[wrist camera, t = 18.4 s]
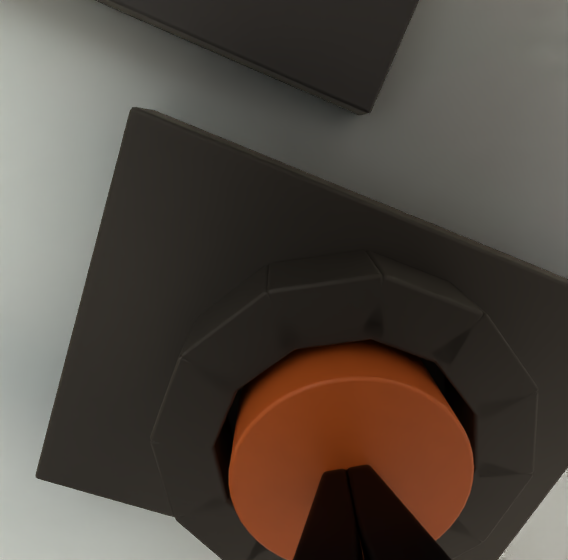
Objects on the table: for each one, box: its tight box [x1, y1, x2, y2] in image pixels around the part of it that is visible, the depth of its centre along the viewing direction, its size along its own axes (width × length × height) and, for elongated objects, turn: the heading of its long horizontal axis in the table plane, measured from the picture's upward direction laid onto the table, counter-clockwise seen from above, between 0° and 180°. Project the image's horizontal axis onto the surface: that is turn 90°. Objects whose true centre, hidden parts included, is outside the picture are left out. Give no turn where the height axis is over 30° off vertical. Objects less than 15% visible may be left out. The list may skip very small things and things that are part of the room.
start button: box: [229, 339, 474, 560], centre depth 9 cm, size 4×4×2 cm
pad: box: [36, 107, 568, 560], centre depth 10 cm, size 12×9×3 cm
